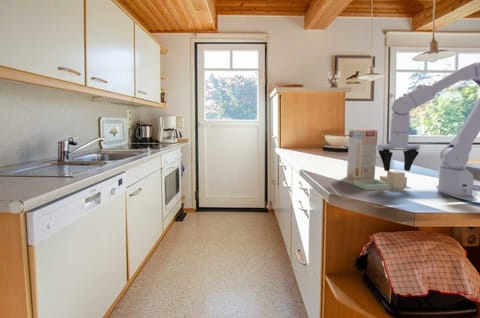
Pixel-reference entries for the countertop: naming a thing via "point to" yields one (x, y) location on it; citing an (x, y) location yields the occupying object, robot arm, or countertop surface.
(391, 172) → the sandstone block
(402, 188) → the slate board
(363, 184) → the sage tray
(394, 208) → the countertop surface
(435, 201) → the countertop surface
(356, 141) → the cracker box
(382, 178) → the grey pebble
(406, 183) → the grey pebble
